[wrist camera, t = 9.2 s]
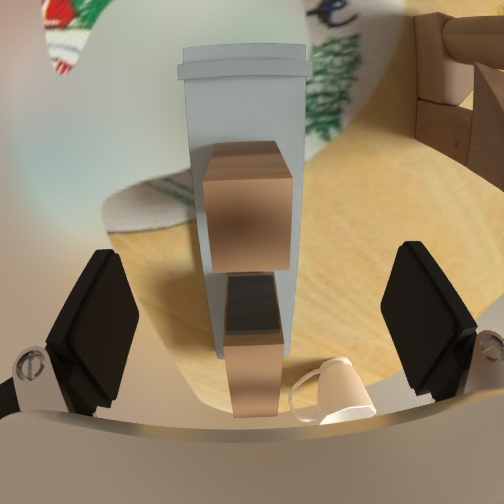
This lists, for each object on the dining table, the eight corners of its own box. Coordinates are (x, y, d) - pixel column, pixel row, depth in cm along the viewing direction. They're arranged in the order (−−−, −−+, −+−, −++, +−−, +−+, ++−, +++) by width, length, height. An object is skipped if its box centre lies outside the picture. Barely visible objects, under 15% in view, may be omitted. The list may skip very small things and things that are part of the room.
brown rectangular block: (216, 143, 20) (202, 181, 13) (275, 140, 20) (293, 178, 13) (221, 212, 23) (213, 279, 16) (275, 211, 23) (289, 275, 16)
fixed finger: (226, 269, 26) (222, 342, 19) (274, 267, 26) (284, 340, 19) (234, 353, 32) (234, 417, 25) (271, 352, 32) (277, 416, 25)
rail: (186, 49, 17) (176, 45, 14) (302, 46, 17) (312, 41, 14) (217, 350, 33) (216, 373, 31) (287, 348, 33) (290, 370, 31)
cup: (359, 374, 38) (373, 423, 31) (288, 388, 39) (294, 440, 32) (362, 344, 34) (380, 399, 27) (281, 360, 35) (288, 419, 28)
